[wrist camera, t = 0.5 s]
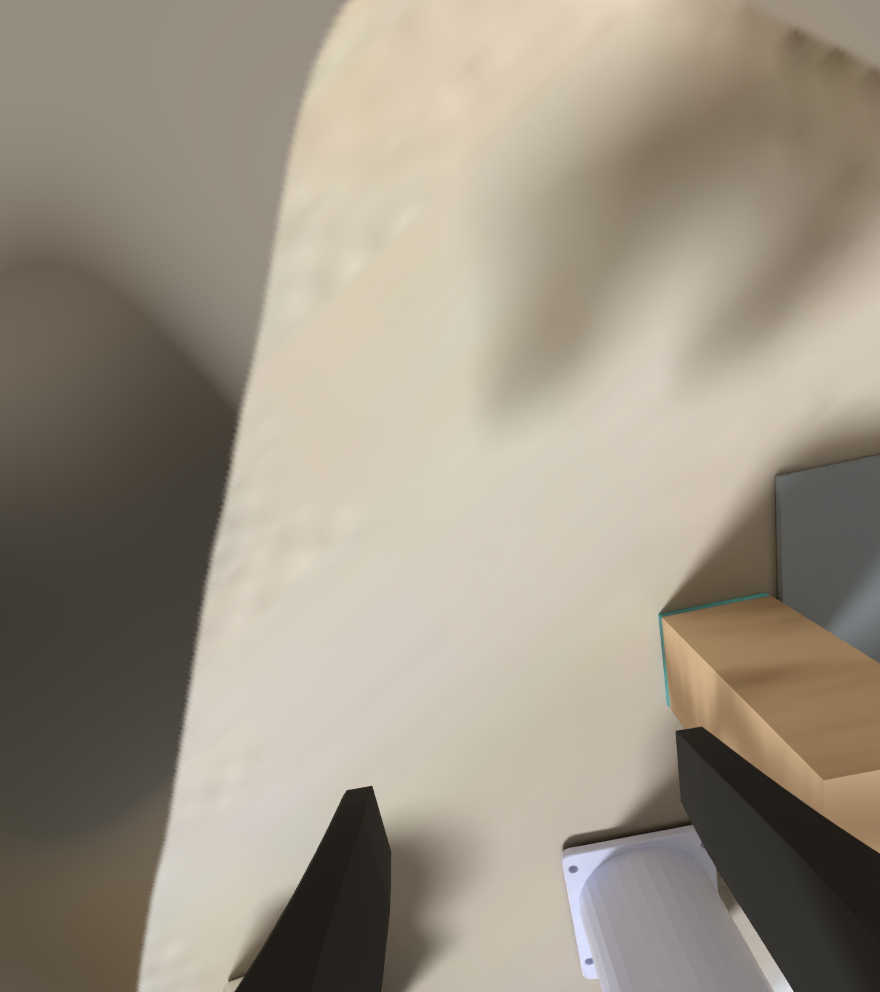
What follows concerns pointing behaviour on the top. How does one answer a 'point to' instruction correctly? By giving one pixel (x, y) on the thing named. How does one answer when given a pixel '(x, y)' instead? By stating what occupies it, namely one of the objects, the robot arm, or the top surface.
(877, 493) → the slate mat
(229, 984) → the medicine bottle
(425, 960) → the top surface
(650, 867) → the robot arm
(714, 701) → the oak block
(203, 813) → the top surface
